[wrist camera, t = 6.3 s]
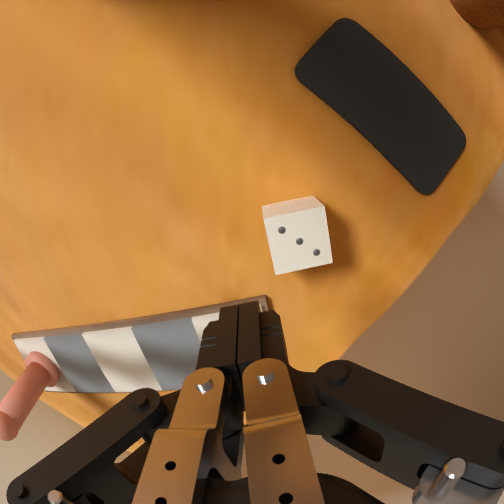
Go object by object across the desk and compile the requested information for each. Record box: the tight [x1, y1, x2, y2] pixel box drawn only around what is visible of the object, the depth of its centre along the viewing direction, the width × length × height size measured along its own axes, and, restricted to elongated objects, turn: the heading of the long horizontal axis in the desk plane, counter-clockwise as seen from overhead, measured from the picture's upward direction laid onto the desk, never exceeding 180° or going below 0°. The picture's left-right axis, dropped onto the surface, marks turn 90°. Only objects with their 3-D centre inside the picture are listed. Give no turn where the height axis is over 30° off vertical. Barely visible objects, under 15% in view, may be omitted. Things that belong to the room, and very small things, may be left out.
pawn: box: [0, 351, 60, 441], centre depth 23 cm, size 5×5×12 cm
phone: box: [295, 18, 466, 195], centre depth 20 cm, size 7×1×15 cm
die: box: [262, 196, 333, 275], centre depth 22 cm, size 4×4×4 cm
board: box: [11, 295, 269, 393], centre depth 28 cm, size 9×31×1 cm, turn 103°
